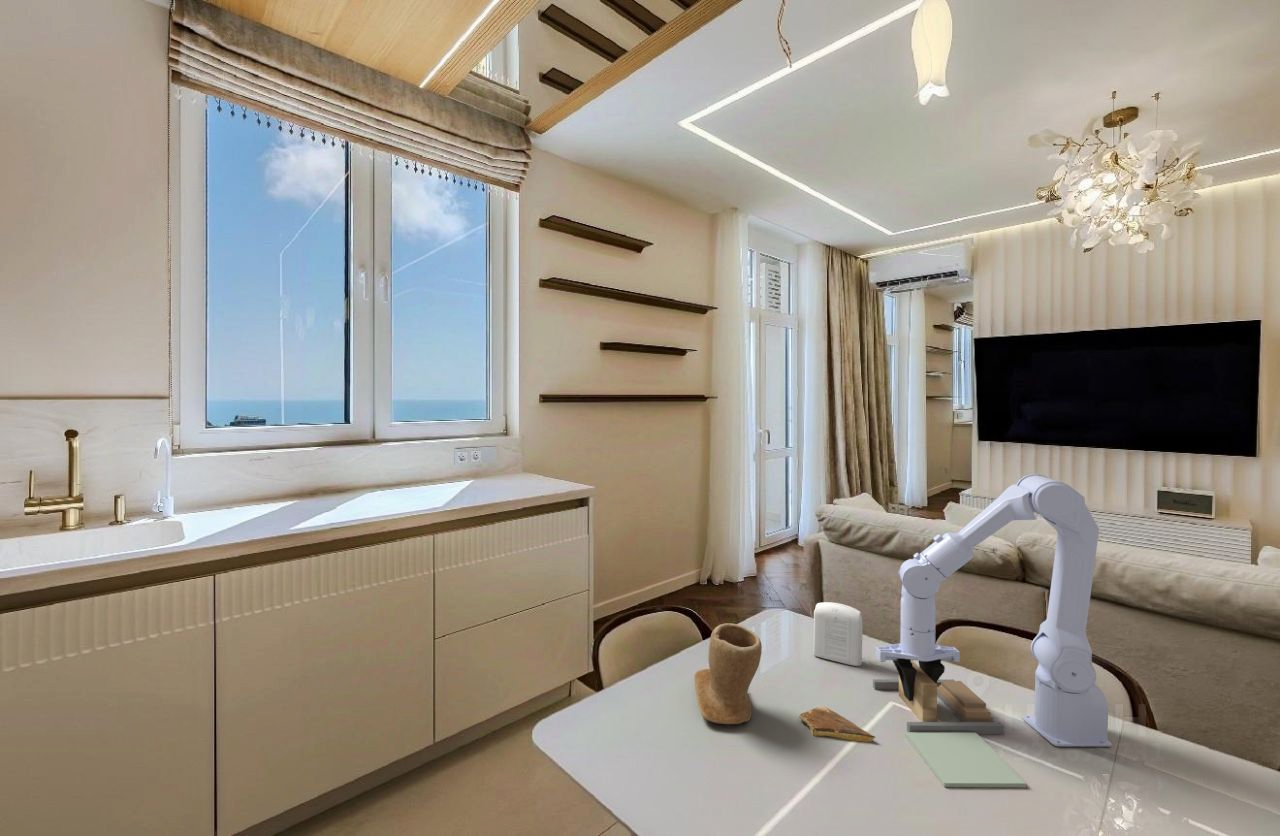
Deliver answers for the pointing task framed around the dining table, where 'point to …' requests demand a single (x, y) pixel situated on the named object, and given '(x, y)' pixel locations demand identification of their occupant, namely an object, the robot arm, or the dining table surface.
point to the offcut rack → (953, 709)
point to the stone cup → (728, 675)
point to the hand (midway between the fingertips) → (916, 698)
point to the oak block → (922, 696)
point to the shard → (833, 725)
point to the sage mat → (963, 760)
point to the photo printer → (838, 633)
